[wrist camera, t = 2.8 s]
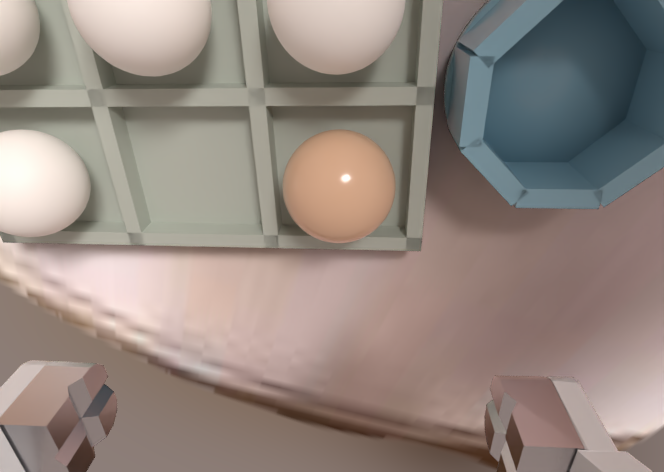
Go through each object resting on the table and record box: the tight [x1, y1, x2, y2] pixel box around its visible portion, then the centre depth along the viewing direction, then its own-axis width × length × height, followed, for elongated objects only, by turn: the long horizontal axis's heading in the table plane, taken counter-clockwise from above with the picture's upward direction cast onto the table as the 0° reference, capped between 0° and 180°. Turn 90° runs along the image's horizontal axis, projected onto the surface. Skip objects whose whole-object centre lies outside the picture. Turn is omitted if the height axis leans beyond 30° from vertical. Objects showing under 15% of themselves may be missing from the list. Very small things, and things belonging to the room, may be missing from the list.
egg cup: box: [444, 0, 664, 209], centre depth 17 cm, size 8×8×4 cm
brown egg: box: [283, 129, 396, 243], centre depth 18 cm, size 5×5×5 cm
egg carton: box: [0, 0, 443, 251], centre depth 17 cm, size 21×14×5 cm
